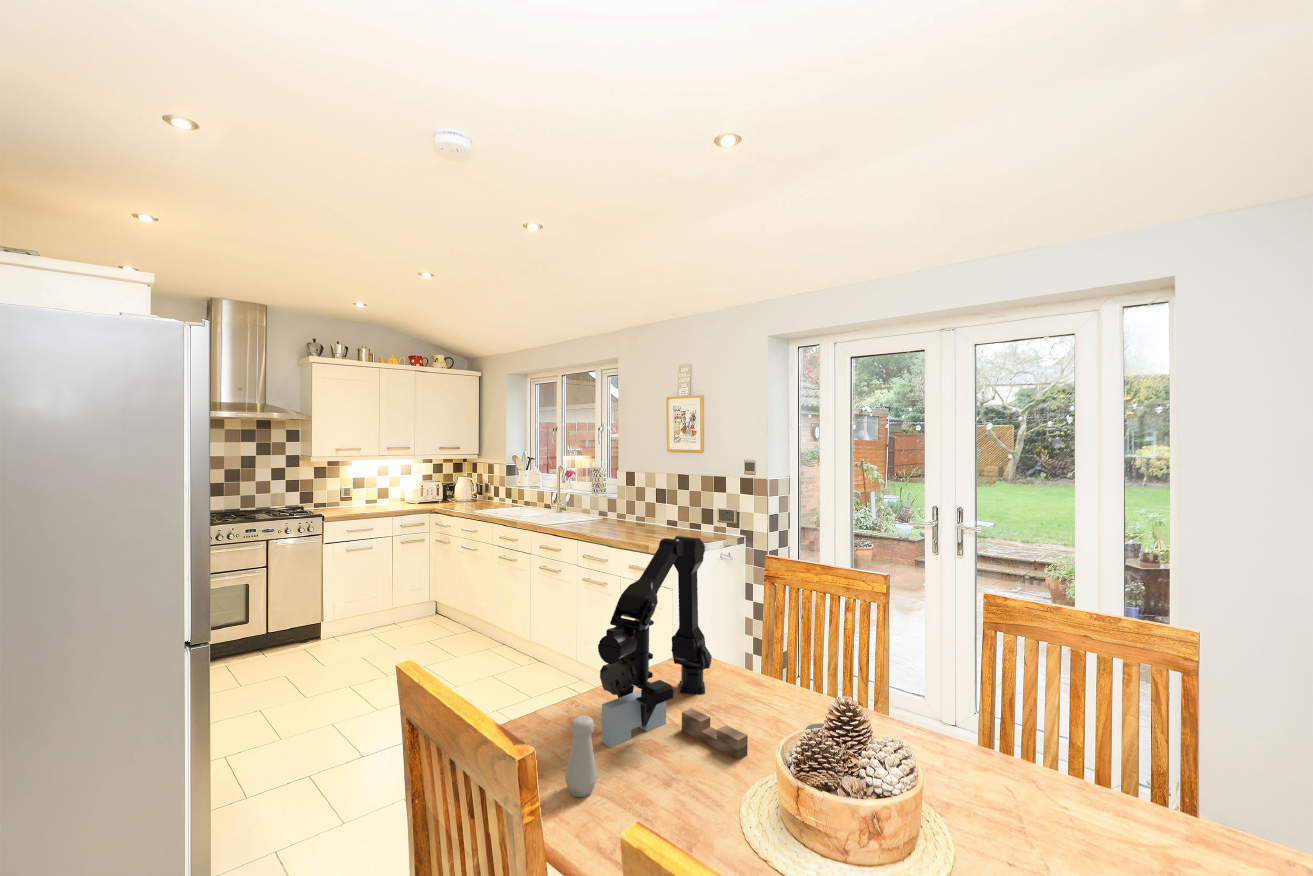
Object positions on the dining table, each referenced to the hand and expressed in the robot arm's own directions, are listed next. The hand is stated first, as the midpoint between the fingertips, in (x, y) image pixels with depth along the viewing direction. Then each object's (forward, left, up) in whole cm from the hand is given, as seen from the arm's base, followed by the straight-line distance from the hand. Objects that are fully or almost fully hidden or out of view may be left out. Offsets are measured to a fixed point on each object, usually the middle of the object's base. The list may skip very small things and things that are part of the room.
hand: (634, 720), depth 127 cm
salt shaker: (+22, -8, -3) cm, 24 cm away
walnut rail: (+3, +17, -2) cm, 17 cm away
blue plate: (0, 0, -2) cm, 2 cm away
